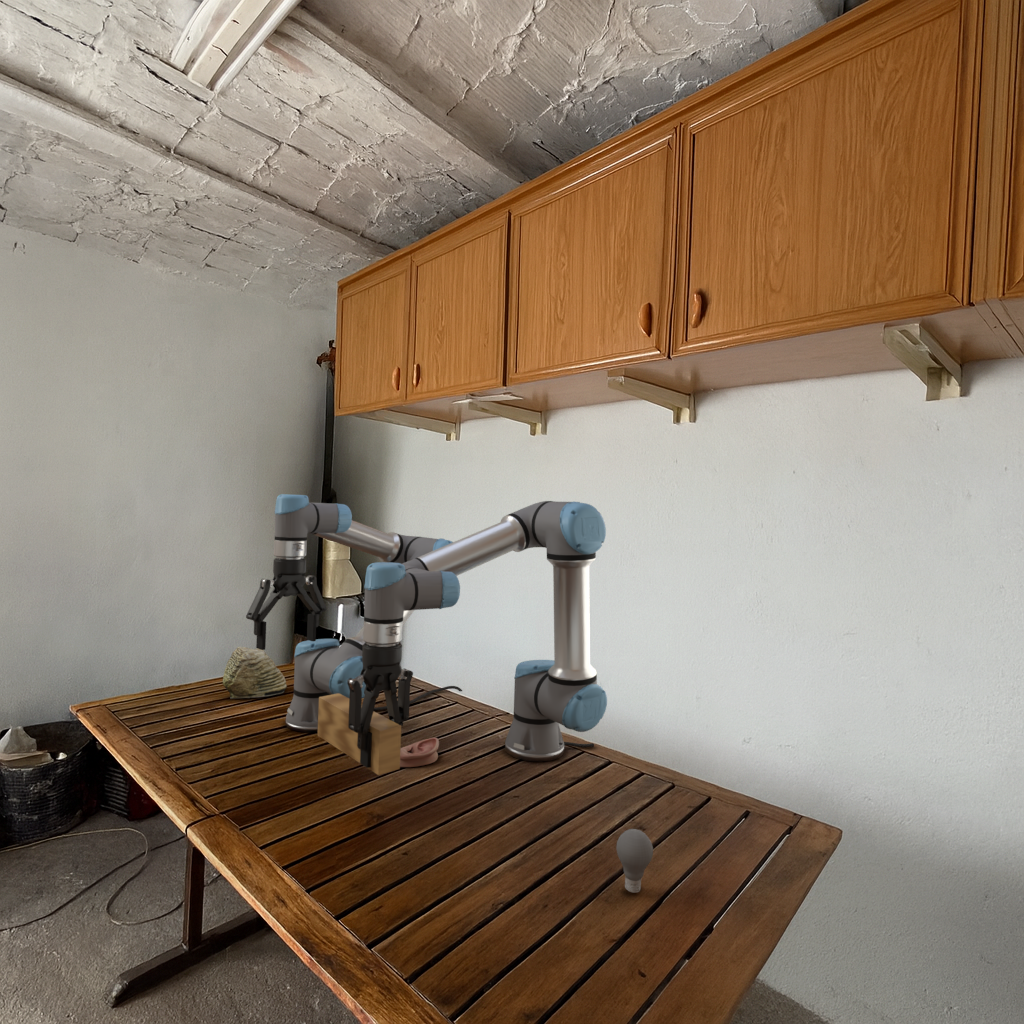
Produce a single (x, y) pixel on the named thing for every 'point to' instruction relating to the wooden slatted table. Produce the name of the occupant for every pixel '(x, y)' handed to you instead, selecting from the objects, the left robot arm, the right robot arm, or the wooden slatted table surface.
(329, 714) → the bar
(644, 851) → the light bulb
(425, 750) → the anatomical model
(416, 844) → the wooden slatted table surface
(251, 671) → the fossil
